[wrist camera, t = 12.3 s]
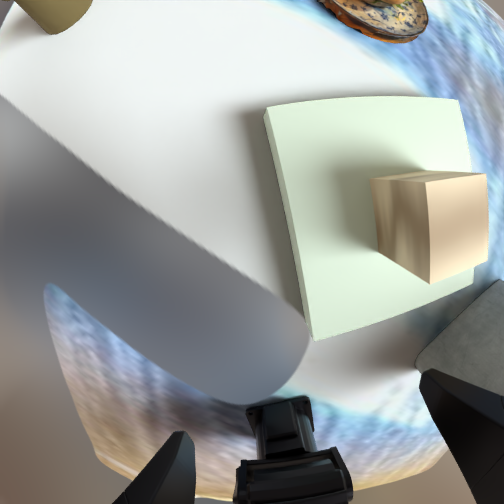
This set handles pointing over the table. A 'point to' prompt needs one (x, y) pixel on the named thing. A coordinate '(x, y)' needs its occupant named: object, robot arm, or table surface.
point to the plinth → (357, 199)
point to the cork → (55, 12)
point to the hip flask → (472, 343)
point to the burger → (382, 17)
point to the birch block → (432, 221)
